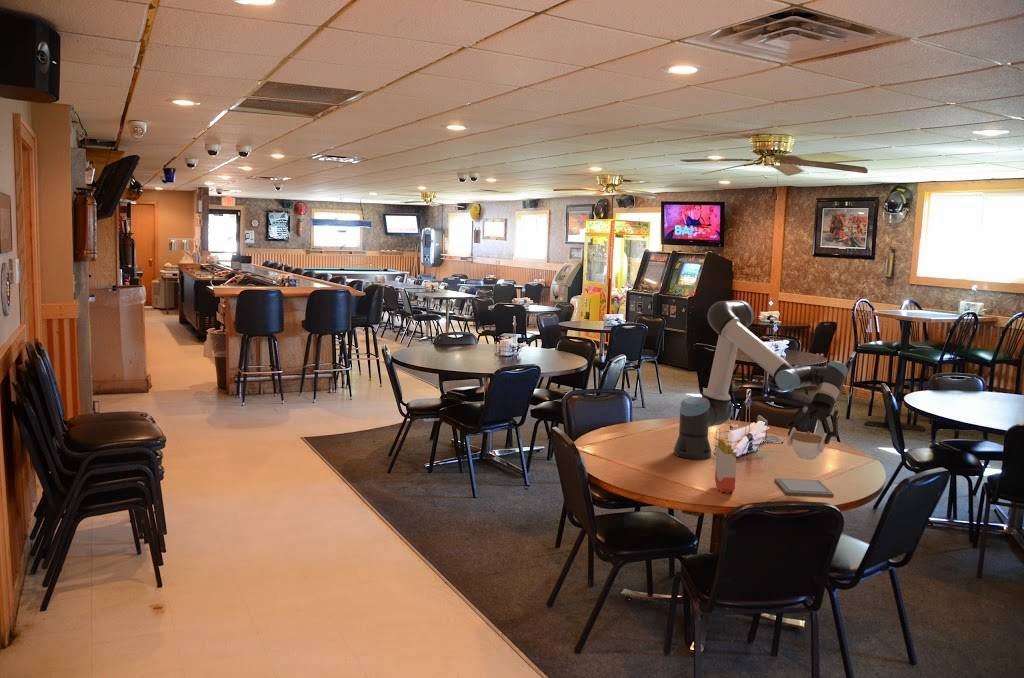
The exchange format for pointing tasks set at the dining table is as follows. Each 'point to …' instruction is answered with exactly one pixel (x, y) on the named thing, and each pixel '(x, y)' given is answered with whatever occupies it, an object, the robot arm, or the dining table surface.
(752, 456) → the dining table surface
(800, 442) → the lidded jar
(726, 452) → the french fries container
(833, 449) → the dining table surface
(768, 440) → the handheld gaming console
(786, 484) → the bar mat
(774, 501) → the dining table surface
